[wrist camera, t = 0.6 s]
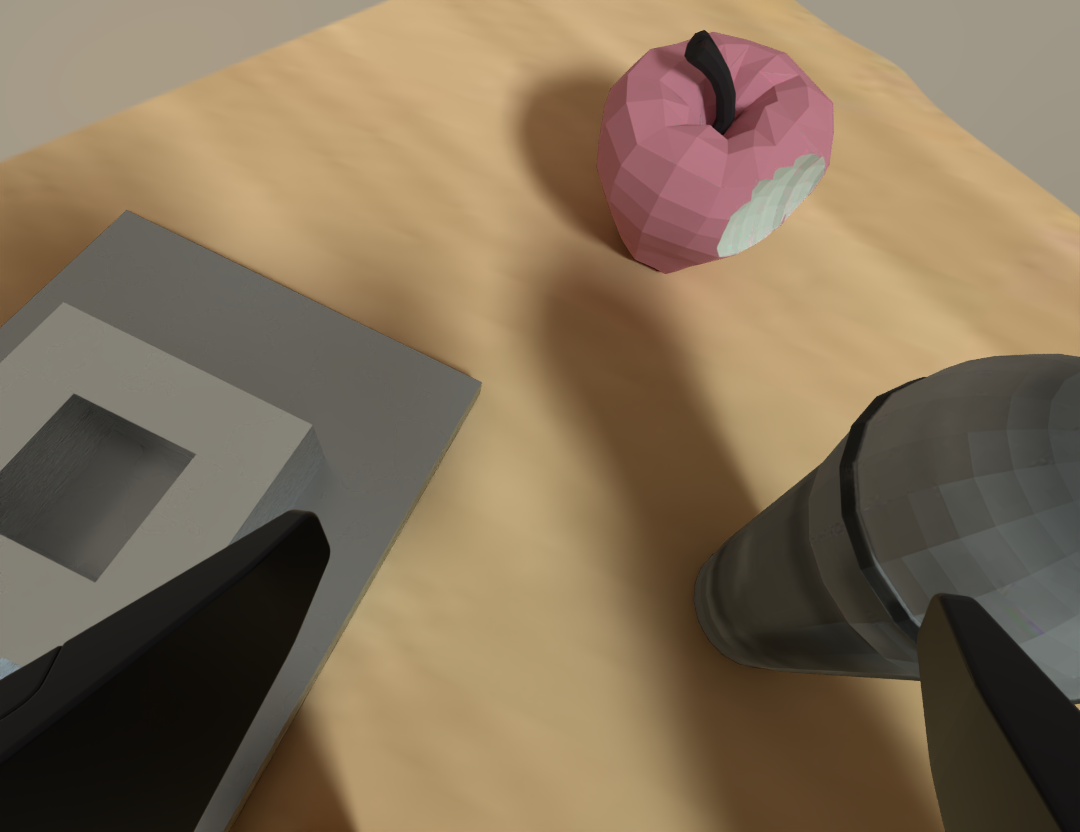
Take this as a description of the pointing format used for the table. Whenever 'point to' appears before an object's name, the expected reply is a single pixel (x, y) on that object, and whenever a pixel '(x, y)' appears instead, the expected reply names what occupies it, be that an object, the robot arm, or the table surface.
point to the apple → (710, 148)
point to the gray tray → (200, 449)
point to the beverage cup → (918, 530)
